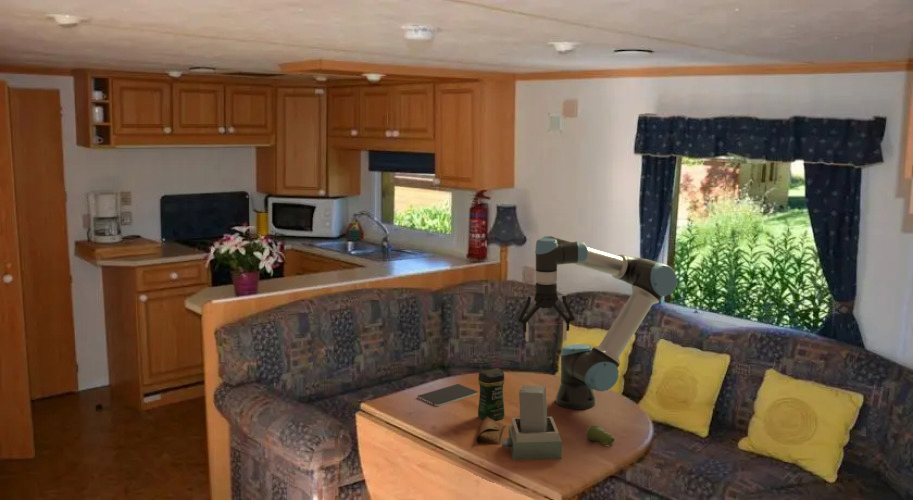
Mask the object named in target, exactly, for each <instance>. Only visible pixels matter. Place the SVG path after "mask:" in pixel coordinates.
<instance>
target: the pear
mask: <svg viewBox="0 0 913 500" xmlns="http://www.w3.org/2000/svg"><path fill="white" fill-rule="evenodd" d="M586 436H587V438H588V439H589V441H591V440H592V442H600V444H602V445H603V446H604V445H609V446H611V445H613V444H614V442H615V438H614V437H613V435H612V434H611V433H609V432H607V431H606V429H605V428H603V427H602V426H598V425H590V426H588V429H587V430H586ZM612 443H613V444H612ZM610 444H611V445H610Z"/></svg>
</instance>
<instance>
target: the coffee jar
mask: <svg viewBox="0 0 913 500" xmlns="http://www.w3.org/2000/svg"><path fill="white" fill-rule="evenodd" d="M477 379H478V385H479V396H478V397H479V398H478V399H479V400H478V408H477V409H478V411H477V416H478V418H479V419H480V420H482V421H483V420H484V418H485V417H486V416H487V417H489V418H490V419H492V420H494V421H497V420H501V419H503V418H504V417H505V404H504V384H505V381H506V379H505V372H504V370H502V369H500V368H499V367H498V368H497V367H496V368H493V369H488V370H481V371H479V372H478V378H477Z"/></svg>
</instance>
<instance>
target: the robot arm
mask: <svg viewBox="0 0 913 500" xmlns="http://www.w3.org/2000/svg"><path fill="white" fill-rule="evenodd" d="M534 253H535V281H536V282H535V294H534V296H533V295H530V294H529V295H526V297H525V298H526V299H525V303H524V305H523V307H522V308H521V310H520V313H519V314H518V316H517V321H518V322H519V323H522V331H523V333H525V342H529V336H530V335H529V331H530V330H529V329H530V328H529V327H530V326H529V325H530V324H529V320H530V319H531V318H532V317H533V316H534V314H536V313H537V311H538V310H539V309H551V308H554V309H555V310H556V311H557V313H558V314H559V315H560V316H561V317H562V319H564V320H562V339H563V341H564V342H565V341H567V332H569V331H570V324H571V323H570V322H572V321H575V316H574V314H573V312H572V311H571V308H570V307H569V304H568V302H567V297H566V295H565V294H563V293H562V294H561V295H558V292H557V290H558V289H557V288H558V286H557V285H558V284H557V281H558V266H559V265H570V264H571V265H576V266H580V267H584V268H588V269H591V270H593V271H598V272H602V273H603V274H608V275H611V276H612V277H613V279H616V280H619V281H622V282H625V283H626V284H629V285H631V290H632V293H631V294H630V296H629V298H628V299H627V301H626V302H625V303H624V305H623V307H622V308H621V310H620V312H619V313H618V315H617V317H616V318H615V319H614V321H613V323H612V324H611V326H610V327H609V330H608V331H607V332H606V334H605V336H603V339H602V340H601V342H600V343H599V345H595V346H593V347H592V346H591V345H589V344H586V343H585V344H583V343H574V344H573V343H572V344H568V345H564V346H563V347H561V351H560V352H561V353H560V384H559V387H558V388H557V389H558V390H557V393H556V395H555V396H556V397H555V403H556V404H557V405H558V406H560V407H562V408H565V409H569V410H585V409H590V408H592V407H594V406H595V405H596V396H595V393H594V390H595V391H597V392H605V391H608V390H611V389H612V388H613V387H614V386H615V385H616V383H617V382H618V381H619V373H620V372H619V369H618V368H619V367H620V365H621V362H620V358H621V356H622V354H623V352H624V351H625V349H626V348H627V346H628V345H629V343H630V341H631V340H632V338H633V336H634V335H635V334H636V332H637V330H638V328H639V327H640V326H641V324H642V323H643V321H644V319H645V318H646V316H647V314H648V313H649V311H650V310H651V308H652V306H653V305H654V304H655V305H656V304H659V303H660V301H661V300H662V298H663V297H667V296H669V295H671V294H673V292H674V291H675V290H676V289H675V288H676V286H677V276H676V275H677V274H676V272H675V270H674V268H673V267H672V266H670V265H668V264H665V263H663V262H660V261H656V260H655V261H654V260H651V259H648V258H643V257H636V256H635V257H634V256H629V255H624V254H618V255H615V254H613V253H609V252H605V251H603V250H598V249H595V248H591V247H588V246H587V244H586V243H585V242H584V241H568V240H565V239H561V238H559V237H558V238H557V237H555V236H552V235H551V236H550V235H545V236H543V237H541V238H539V239H537V240H536V242H535V251H534ZM533 301H535V304H534V305H533V306H532V308H531V309H530V310H529V311H528V309H529V307H530V304H531V303H533ZM558 301H560V302H561V303H562V305H563V307H564V309H565V310H566V312H567V314H568V316H567V315H566V314H565V313H564V312H563V310H562V308H560V307H559V306H558V305H557V304H556V303H557V302H558ZM527 311H528V312H527ZM526 313H527V314H526Z"/></svg>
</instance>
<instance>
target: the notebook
mask: <svg viewBox="0 0 913 500" xmlns="http://www.w3.org/2000/svg"><path fill="white" fill-rule="evenodd" d="M476 395H478V391H477V390H475V389H472V388H470V387H467V386H465V385H462V384H460V383H457V384H452V385H449V386H446V387H443V388H439V389H435V390H433V391H432V390H431V391H429V392H426V393H422V394H419V395H417V399H419V398H420V399H419V400H421V399H422V400H421V401H423V400H424V402H426V401H427V402H426V403H428V402H429V403H428V404H430V403H431V405H433V406H435V407H442V406H445V405H447V403H448V404H450V402H451V403H453V401H454V402H458V401H460V400H463V399H467V398H470V397H473V396H476ZM444 404H445V405H444Z"/></svg>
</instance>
